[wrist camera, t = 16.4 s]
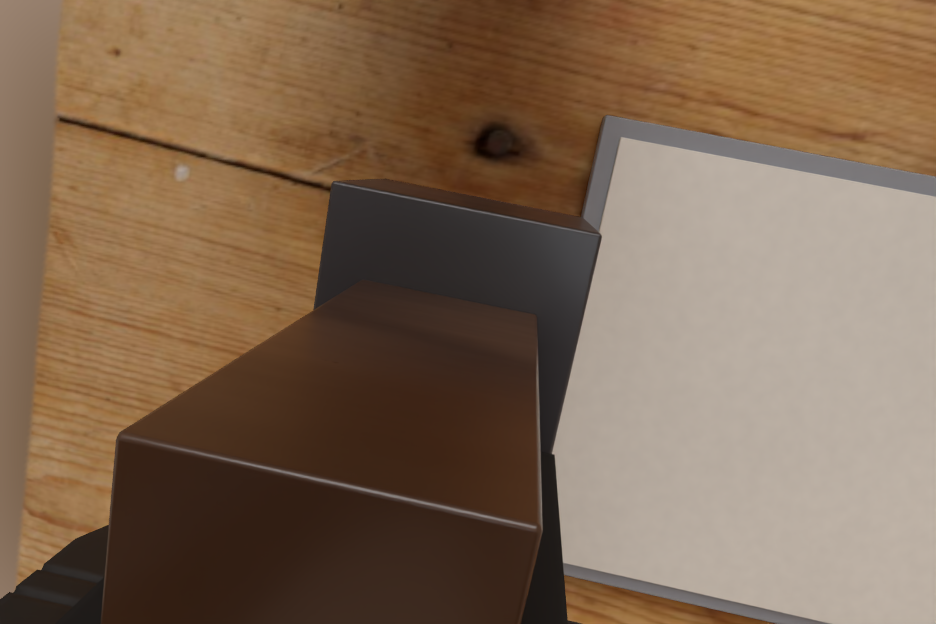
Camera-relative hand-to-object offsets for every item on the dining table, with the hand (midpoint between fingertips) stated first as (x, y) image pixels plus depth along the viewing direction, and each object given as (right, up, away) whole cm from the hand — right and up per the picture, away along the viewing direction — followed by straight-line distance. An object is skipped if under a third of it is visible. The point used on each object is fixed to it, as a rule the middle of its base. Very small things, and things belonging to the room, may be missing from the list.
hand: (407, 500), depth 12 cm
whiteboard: (+16, 0, +12) cm, 20 cm away
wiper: (0, +1, +4) cm, 5 cm away
